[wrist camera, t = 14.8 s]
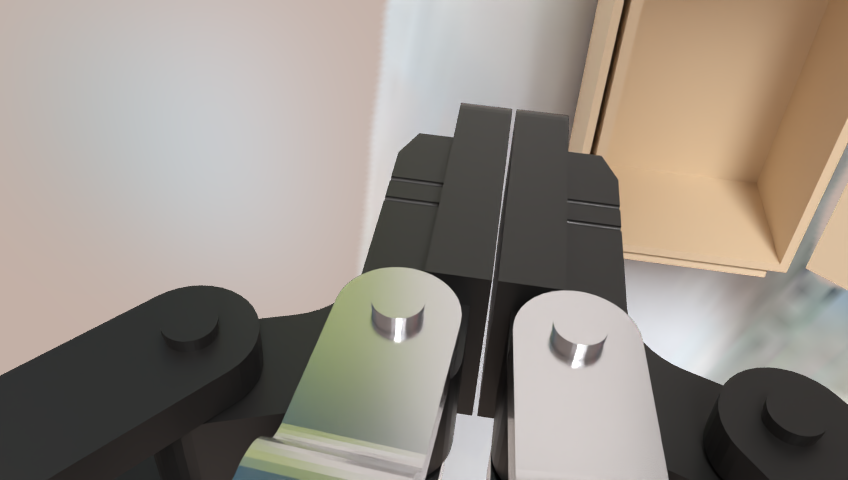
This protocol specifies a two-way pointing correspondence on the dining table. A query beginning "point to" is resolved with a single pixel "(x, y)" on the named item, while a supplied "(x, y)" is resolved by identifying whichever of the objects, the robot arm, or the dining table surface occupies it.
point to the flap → (833, 246)
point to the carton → (716, 124)
